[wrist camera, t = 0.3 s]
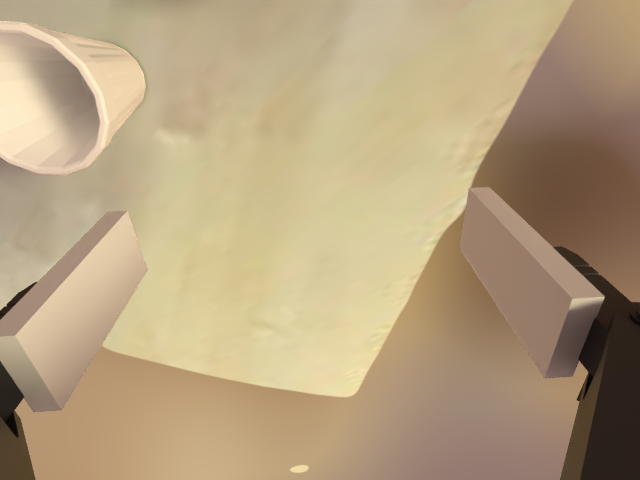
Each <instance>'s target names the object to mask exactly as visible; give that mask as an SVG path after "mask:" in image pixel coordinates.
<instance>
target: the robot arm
mask: <svg viewBox="0 0 640 480" xmlns="http://www.w3.org/2000/svg"><path fill="white" fill-rule="evenodd" d="M460 250H461V252H462V253H463V255H464V256H465V258H466V259H467V261H468V263H469V264H470V265H471V267H472V269H473V270H474V272H475V273H476V275H477V276H478V278H479V279H480V281H481V282H482V284H483V285H484V287H485V288H486V290H487V291H488V293H489V295H490V296H491V298H492V299H493V300H494V302H495V304H496V305H497V307H498V308H499V310H500V311H501V313H502V314H503V316H504V317H505V319H506V320H507V322H508V324H509V325H510V327H511V328H512V330H513V331H514V333H515V334H516V336H517V337H518V339H519V340H520V342H521V343H522V345H523V346H524V348H525V349H526V351H527V352H528V354H529V355H530V357H531V359H532V360H533V361H534V363H535V365H536V366H537V368H538V369H539V371H540V372H541V374H542V375H543V377H544V378H556V377H572V376H573V374H574V372H575V369H576V367H577V364H578V362H579V361H580V362H581V363H582V364H583V366H584V367H585V368H586V369H587V371H588V375H587V377H586V379H585V382H584V384H583V387H582V389H581V391H580V393H579V396H578V398H577V400H578V401H580V402H579V406H578V410H577V414H576V418H575V422H574V426H573V430H572V434H571V438H570V442H569V446H568V450H567V454H566V458H565V462H564V466H563V470H562V474H561V478H560V480H640V303H639V302H631V301H629V300H628V299H627V298H626V297H625V296H624V295H622V293H620V292H619V291H618V290H617V289H616V288H615V287H614V286H613V285H611V284H610V283H609V282H608V281H607V280H606V279H605V278H604V277H602V276H601V275H599V274H598V272H597V271H596V270H594V269H593V268H592V267H589V264H588V263H587V262H585V261H584V260H583V259H582V258H581V257H580V256H579V255H577V254H575V253H573V252H571V251H569V250H567V249H566V248H564V247H562V246H561V247H552V246H551V245H550V244H549V243H548V242H547V241H546V240H544V239H543V238H542V237H541V236H540V235H539V234H538V233H537V232H536V231H535V230H534V229H533V228H532V227H531V226H529V224H527V223H526V222H525V221H524V220H523V219H522V218H521V217H520V216H519V215H518V214H517V213H516V212H515V211H514V210H513V209H512V208H511V207H510V206H508V205H507V204H506V203H505V202H504V201H503V200H502V199H501V198H500V197H499V196H498V195H497V194H496V193H495V192H494V191H493V190H492V189H490V188H489V187H481V188H469V191H468V198H467V205H466V211H465V218H464V225H463V232H462V238H461V245H460ZM147 270H148V269H147V267H146V264H145V261H144V258H143V255H142V252H141V249H140V246H139V243H138V241H137V238H136V235H135V232H134V229H133V226H132V223H131V220H130V217H129V215H128V212H127V211H118V212H107V213H106V214H105V215H104V216H103V217H102V218H101V219H100V220H99V221H98V222H97V223H96V224H95V225H94V226H93V227H92V228H91V229H90V230H89V231H88V232H87V233H86V234H85V235H84V236H83V237H82V238H81V239H80V240H79V241H78V242H77V243H76V244H75V245H74V246H73V247H72V248H71V249H70V250H69V251H68V252H67V253H66V254H65V255H64V256H63V257H62V258H61V259H60V260H59V261H58V262H57V263H56V264H55V265H54V266H53V267H52V268H51V269H50V270H49V271H48V272H47V273H46V274H45V275H44V276H43V277H42V278H41V279H40V280H39V281H38V282H35V283H33V284H32V285H30V286H29V287H27V288H25V289H24V290H22V291H21V292H19V293H18V294H17V295H16V296H15V297H14V298H13V299H12V300H11V301H10V302H9V303H8V304H7V307H4V308H3V309H1V310H0V480H35V476H34V472H33V468H32V464H31V460H30V455H29V451H28V447H27V443H26V439H25V435H24V431H23V427H22V423H21V419H20V417H19V416H18V415H17V413H16V412H15V409H16V407H17V406H18V405H19V403H20V402H21V401H22V399H23V398H24V399H25V400H26V402H27V403H28V405H29V406H30V408H31V409H32V410H33V412H42V411H57V410H62V409H63V407H64V406H65V404H66V402H67V401H68V399H69V397H70V396H71V394H72V392H73V391H74V389H75V388H76V386H77V384H78V383H79V381H80V379H81V378H82V376H83V375H84V373H85V371H86V370H87V368H88V366H89V365H90V363H91V361H92V360H93V358H94V356H95V355H96V353H97V352H98V350H99V348H100V347H101V345H102V344H103V342H104V340H105V339H106V337H107V335H108V334H109V332H110V330H111V329H112V327H113V326H114V324H115V322H116V321H117V319H118V317H119V316H120V314H121V313H122V311H123V309H124V308H125V306H126V304H127V303H128V301H129V299H130V298H131V296H132V295H133V293H134V291H135V290H136V288H137V286H138V285H139V283H140V282H141V280H142V278H143V277H144V275H145V273H146V272H147Z"/></svg>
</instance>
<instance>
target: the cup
mask: <svg viewBox="0 0 640 480" xmlns="http://www.w3.org/2000/svg"><path fill="white" fill-rule="evenodd" d="M145 89H146V86H145V80H144V74H143V72H142V70H141V68H140V67H139V65H138V63H137V61H136V60H135V59H134V58H133V57H132V56H131V55H130V54H129V53H128V52H127V51H126V50H124V49H122V48H120V47H118V46H116V45H114V44H112V43H108V42H103V41H99V40H94V39H89V38H85V37H80V36H76V35H71V34H67V33H62V32H58V31H53V30H49V29H47V28H45V27H43V26H40V25H36V24H30V23H24V22H11V21H0V157H1V158H2V159H4V160H5V161H6V162H8V163H9V164H12V165H15V166H18V167H20V168H23V169H26V170H28V171H31V172H34V173H36V174H47V175H68V174H70V173H73V172H75V171H78V170H81V169H83V168H86V167H88V166H89V165H90V164H91V163H92V162H93V161H94V160H95V159H96V158H97V157H98V156H99V155H100V154H101V152H102V151H103V150H104V149H105V148H106V146H107V145H108V144H109V143H110V142H111V140H112V137H113V135H114V134H115V133H116V131H117V130H118V129H119V128H120V127H121V125H122V124H123V123H124V122H125V121H126V119H127V118H128V117H129V116H130V115H131V113H132V112H133V111H134V110H135V109H136V108H137V106H138V105H139V104H140V103H141V101H142V100H143V97H144V93H145Z"/></svg>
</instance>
